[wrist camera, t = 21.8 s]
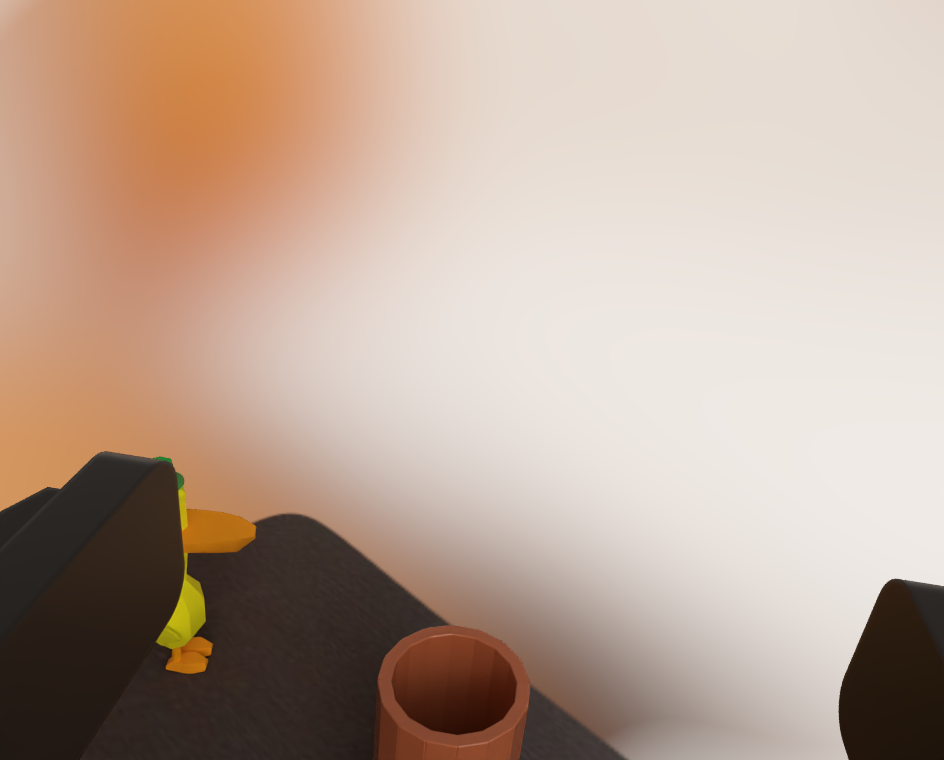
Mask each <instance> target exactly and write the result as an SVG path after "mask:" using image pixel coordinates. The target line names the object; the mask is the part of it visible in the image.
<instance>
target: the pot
mask: <svg viewBox="0 0 944 760" xmlns="http://www.w3.org/2000/svg"><path fill="white" fill-rule="evenodd" d="M529 696H530V681H529V678H528V676H527V673H526V670H525V668H524V665H523V663H522V661H521V660H520V658H519V657H518V656H517V655H516V654H515V653H514V652H513V651H512V650H511V649H510V648H509V647H508V646H507V645H506V644H505V643H503V642H502V641H501V640H499V639H497V638H495V637H493V636H491V635H489V634H487V633H485V632H483V631H480V630H477V629H472V628H466V627H460V626H454V625H452V626H451V625H448V626H440V627H431V628H425V629H422V630H420V631H418V632H416V633H414V634H412V635H409V636H407V637H405V638H403V639H402V640H400V641H399V642H398V643H397V644H396V645H395V646H394V648H393V649H392V650H391V651H390V652H389V653H388V654H387V655H386V656H385V658H384V659H383V663H382V666H381V669H380V672H379V675H378V679H377V695H376V714H375V733H374V752H373V760H519V757H520V752H521V746H522V740H523V734H524V729H525V723H526V717H527V712H528V706H529Z"/></svg>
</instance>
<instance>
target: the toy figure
mask: <svg viewBox="0 0 944 760" xmlns="http://www.w3.org/2000/svg"><path fill="white" fill-rule="evenodd" d="M152 459H158V460H164V461H168V462H170V463H171V464H172V460H171V459H170V458H164V457H157V458H152ZM172 465H173V464H172ZM176 475H177V483H178V494H179V505H180V516H181V528H182V539H183V550H184V561H185V573H184V582H183V587H182V591H181V595H180V598H179V601H178V604H177V607H176V609H175V611H174V613H173V615H172V617H171V619H170V621H169V622H168V624H167V625H166V627H165V628H164V630H163V632H162V633H161V635H160V636H159V638H158V639H157V641H156V642H157V643H158V644H160V645H162V646H165V647H167V648H170V649H172V657H171V658H170V659H169V660H168V663H167V665H166V670H171V671H176V672H181V673H188V674H193V673H198V672H203V671H205V670H206V667H207V663H208V659H207V658H205V657H206V656H209V655H211V651H212V647H213V644H212V643H211V642H209V641H207V640H205V639H204V638H202V637H193V636H194V635H195V634H196V633H197V631H198V630H199V629H200V628H201V626H202V625H203V624H204V623H205V621H206V618H205V605H204V596H203V593H202V589H201V585H200V582H198V581H197V580H195V579H193V578H192V577H190V576H189V575H187V574H186V571H187V557H188V553H226V552H237V551H239V550H240V549H241V548H243V547H244V546H246V545H247V544H248V543H250V542H251V541H252V540H254V539H255V534H256V526H255V525H253V524H252V523H250V522H248V521H247V520H245V519H243V518H242V517H239V516H235V515H232V514H228V513H223V512H214V511H206V510H197V509H186V499H185V491H184V487H183V485H184V478H183V476H182V475H181V474H179V473H177V472H176ZM192 637H193V638H192Z"/></svg>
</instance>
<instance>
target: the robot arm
mask: <svg viewBox="0 0 944 760" xmlns="http://www.w3.org/2000/svg"><path fill="white" fill-rule="evenodd" d="M184 573H185V561H184V550H183V539H182V528H181V516H180V505H179V494H178V483H177V475H176V472H175V469H174V467H173V465H172V464H171V463H170V462H168V461H164V460H158V459H151V458H145V457H139V456H133V455H126V454H120V453H113V452H107V451H105V452H100V453H99V454H97V455H95V456H94V457H93V458H92V459H91V460H90V461H89V462H88V463H87V464H86V465H85V466H84V467H83V468H82V469H81V470H80V471H79V472H78V473H77V474H76V475H74V477H72V478H71V479H70V480H69V481H68V482H67V483H66V484H65V485H64V486H63V487H62V488H61V489H57V488H51V487H47V488H45V489H43V490H41V491H39V492H37V493H35V494H33V495H31V496H30V497H28V498H26V499H24V500H22V501H20V502H18V503H16V504H14V505H12V506H10V507H9V508H6V509H4V510H2V511H1V512H0V760H79V759H80V758H81V756H82V754H83V753H84V751H85V750H86V748H87V747H88V745H89V744H90V742H91V741H92V739H93V738H94V736H95V734H96V733H97V731H98V730H99V728H100V727H101V725H102V724H103V722H104V721H105V719H106V718H107V716H108V714H109V713H110V711H111V710H112V708H113V707H114V705H115V704H116V702H117V701H118V699H119V698H120V696H121V695H122V693H123V691H124V690H125V688H126V687H127V685H128V684H129V682H130V681H131V679H132V678H133V676H134V675H135V673H136V671H137V670H138V668H139V667H140V665H141V664H142V662H143V661H144V659H145V658H146V656H147V655H148V653H149V651H150V650H151V648H152V647H153V645H154V644H155V642H156V641H157V639H158V638H159V636H160V635H161V633H162V632H163V630H164V628H165V627H166V625H167V624H168V622H169V621H170V619H171V617H172V615H173V613H174V611H175V609H176V607H177V604H178V601H179V598H180V595H181V591H182V587H183V582H184ZM839 723H840V731H841V736H842V740H843V743H844V746H845V749H846V753H847V755H848V759H849V760H944V586H939V585H933V584H926V583H920V582H914V581H907V580H901V579H892V580H890V581H888V582H887V583H886V584H885V585H884V587H883V588H882V590H881V592H880V594H879V596H878V598H877V600H876V603H875V605H874V607H873V610H872V612H871V615H870V617H869V619H868V622H867V624H866V627H865V629H864V631H863V633H862V636H861V638H860V640H859V643H858V645H857V648H856V650H855V652H854V655H853V657H852V659H851V662H850V664H849V666H848V669H847V671H846V673H845V676H844V679H843V682H842V686H841V690H840V698H839Z"/></svg>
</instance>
